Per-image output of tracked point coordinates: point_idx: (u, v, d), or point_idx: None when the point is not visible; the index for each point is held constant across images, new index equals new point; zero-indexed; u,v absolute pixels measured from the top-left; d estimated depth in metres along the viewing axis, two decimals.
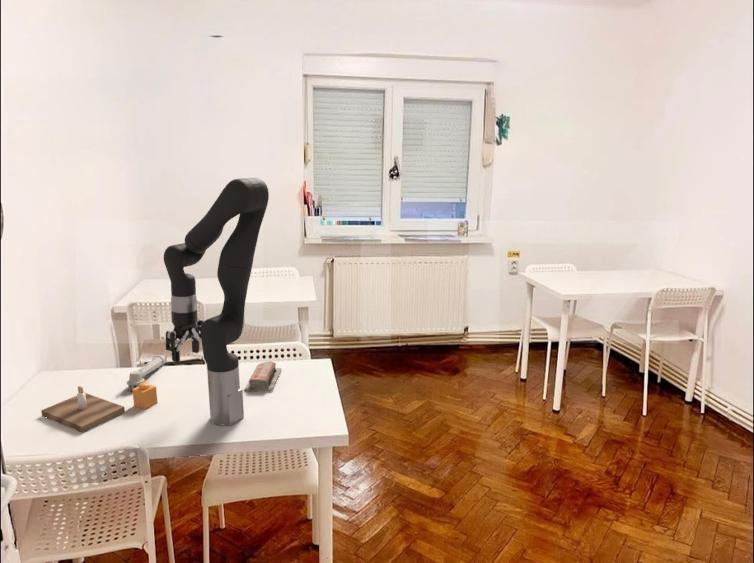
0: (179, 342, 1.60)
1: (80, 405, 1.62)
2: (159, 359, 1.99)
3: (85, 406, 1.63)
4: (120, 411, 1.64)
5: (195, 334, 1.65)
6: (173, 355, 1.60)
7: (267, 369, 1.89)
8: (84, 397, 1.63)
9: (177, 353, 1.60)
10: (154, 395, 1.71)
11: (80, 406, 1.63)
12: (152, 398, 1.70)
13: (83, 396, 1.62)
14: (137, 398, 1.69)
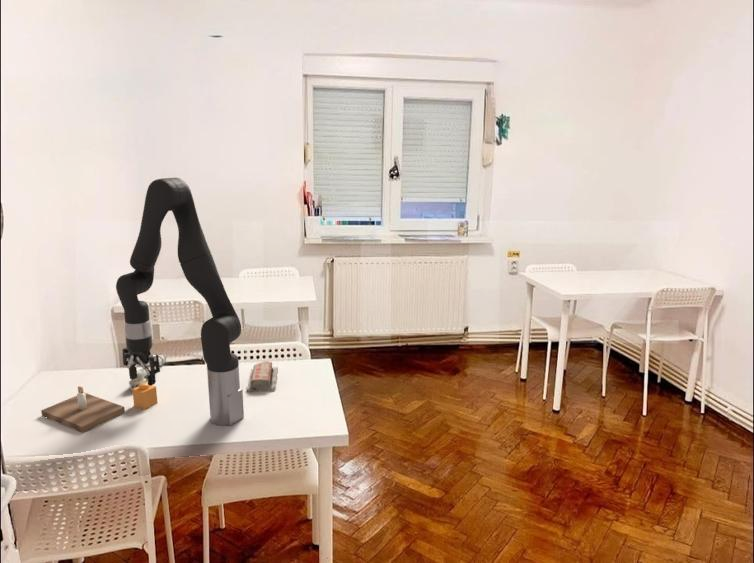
0: None
1: (80, 405, 1.62)
2: (159, 359, 1.99)
3: (85, 406, 1.63)
4: (120, 411, 1.64)
5: None
6: (153, 378, 1.67)
7: (266, 369, 1.89)
8: (84, 397, 1.63)
9: (154, 375, 1.67)
10: (154, 395, 1.71)
11: (80, 406, 1.63)
12: (152, 398, 1.70)
13: (83, 396, 1.62)
14: (137, 398, 1.69)
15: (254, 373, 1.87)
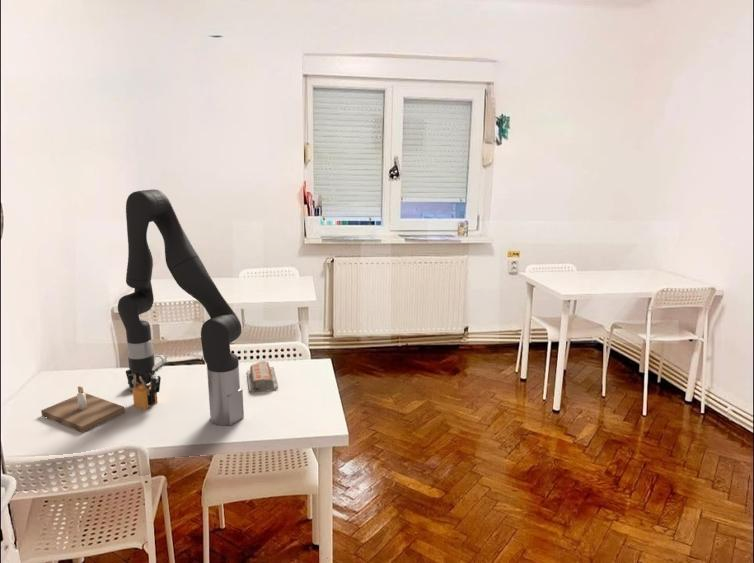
0: None
1: (80, 405, 1.62)
2: (159, 359, 1.99)
3: (85, 406, 1.63)
4: (120, 411, 1.64)
5: None
6: (153, 398, 1.69)
7: (266, 369, 1.89)
8: (84, 397, 1.63)
9: None
10: None
11: (80, 406, 1.63)
12: None
13: (83, 396, 1.62)
14: (137, 398, 1.69)
15: (254, 373, 1.86)
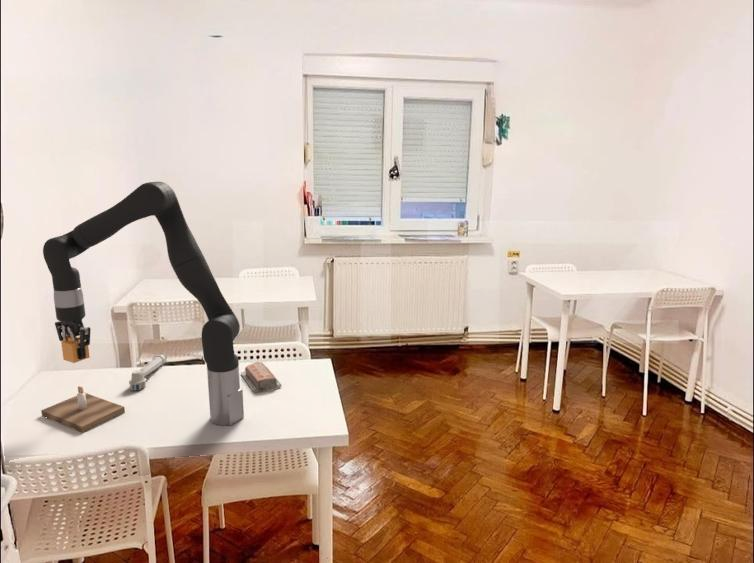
0: None
1: (80, 405, 1.62)
2: (159, 359, 1.99)
3: (85, 406, 1.63)
4: (120, 411, 1.64)
5: None
6: (83, 351, 1.57)
7: (264, 369, 1.89)
8: (84, 397, 1.63)
9: None
10: (86, 349, 1.60)
11: (80, 406, 1.63)
12: None
13: (83, 396, 1.62)
14: (66, 351, 1.57)
15: (254, 374, 1.86)
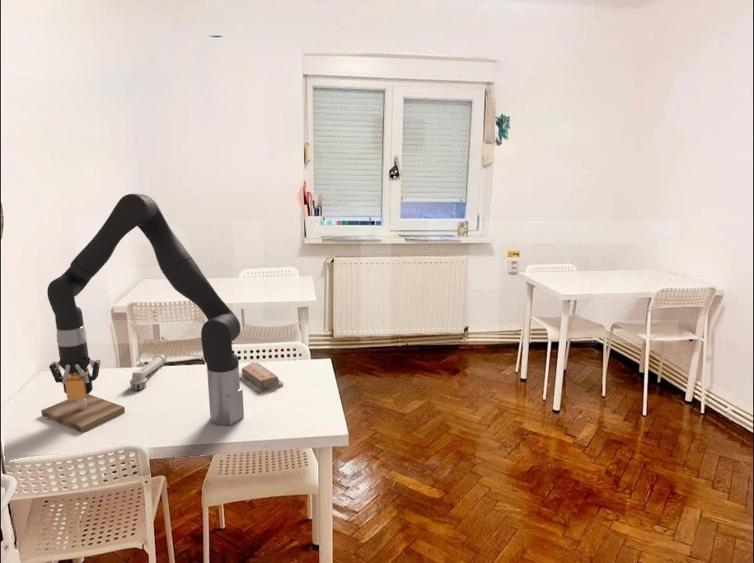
0: (88, 371, 1.62)
1: (80, 405, 1.62)
2: (159, 358, 1.99)
3: (85, 406, 1.63)
4: (120, 411, 1.64)
5: None
6: (91, 385, 1.62)
7: (263, 369, 1.90)
8: None
9: None
10: None
11: (80, 406, 1.63)
12: None
13: None
14: (73, 389, 1.59)
15: (255, 374, 1.85)
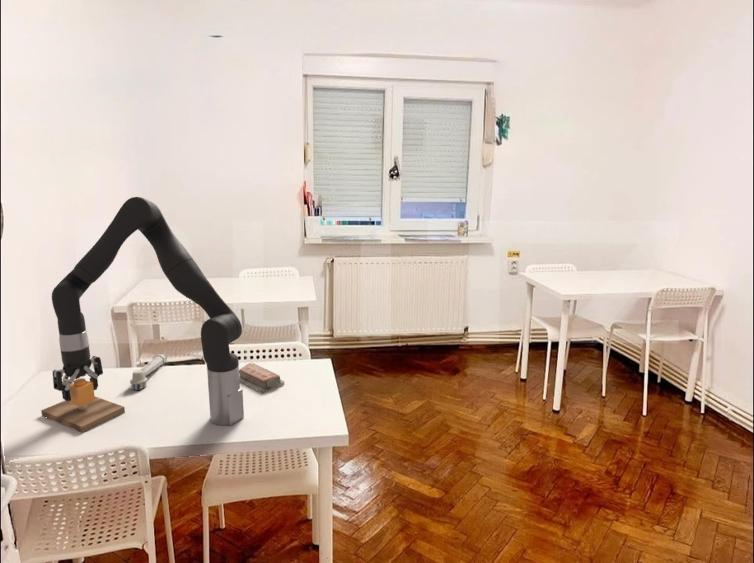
0: None
1: None
2: (160, 358, 1.99)
3: (85, 406, 1.63)
4: (120, 411, 1.64)
5: None
6: None
7: (262, 369, 1.89)
8: None
9: None
10: None
11: (80, 406, 1.63)
12: None
13: None
14: (85, 394, 1.61)
15: (255, 375, 1.85)
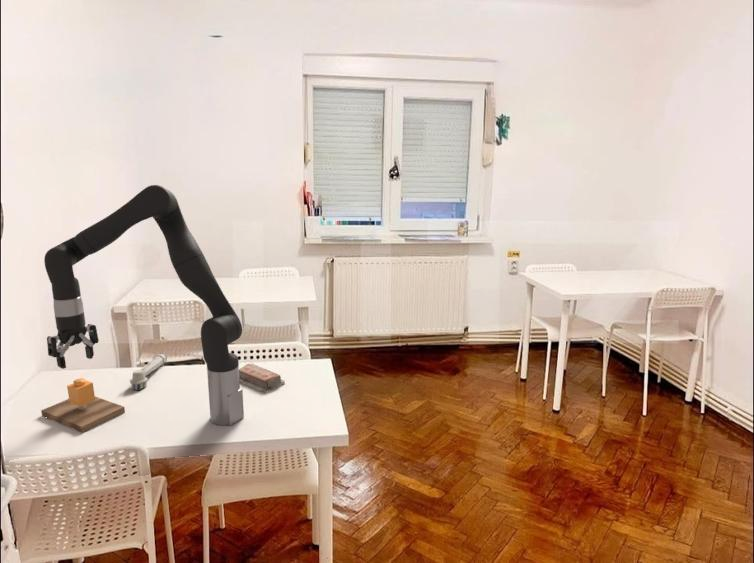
0: None
1: None
2: (160, 358, 1.99)
3: (85, 406, 1.63)
4: (120, 411, 1.64)
5: None
6: None
7: (261, 369, 1.89)
8: None
9: None
10: None
11: None
12: None
13: None
14: (85, 394, 1.61)
15: (256, 375, 1.85)
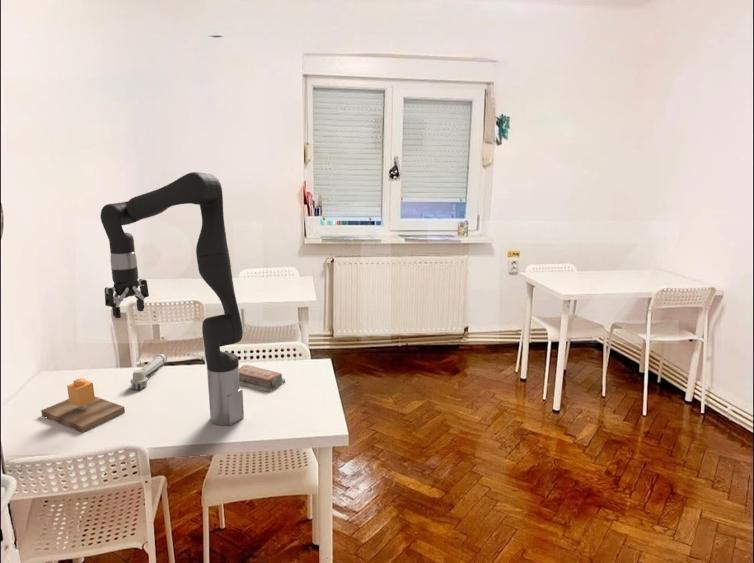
0: None
1: None
2: (160, 358, 1.99)
3: (85, 406, 1.63)
4: (120, 411, 1.64)
5: None
6: None
7: (260, 369, 1.89)
8: None
9: None
10: None
11: (80, 406, 1.63)
12: None
13: None
14: (85, 394, 1.61)
15: (257, 375, 1.85)
